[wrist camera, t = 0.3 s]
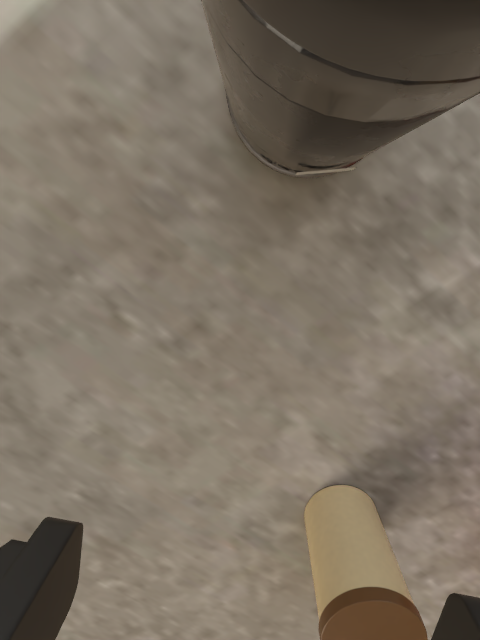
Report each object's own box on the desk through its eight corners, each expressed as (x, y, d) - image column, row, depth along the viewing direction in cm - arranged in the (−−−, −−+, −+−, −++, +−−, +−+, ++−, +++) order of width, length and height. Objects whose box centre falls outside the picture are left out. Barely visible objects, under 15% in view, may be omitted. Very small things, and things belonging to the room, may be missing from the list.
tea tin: (311, 477, 29) (334, 592, 20) (386, 490, 29) (441, 611, 20) (295, 538, 30) (310, 670, 21) (367, 551, 30) (410, 688, 21)
